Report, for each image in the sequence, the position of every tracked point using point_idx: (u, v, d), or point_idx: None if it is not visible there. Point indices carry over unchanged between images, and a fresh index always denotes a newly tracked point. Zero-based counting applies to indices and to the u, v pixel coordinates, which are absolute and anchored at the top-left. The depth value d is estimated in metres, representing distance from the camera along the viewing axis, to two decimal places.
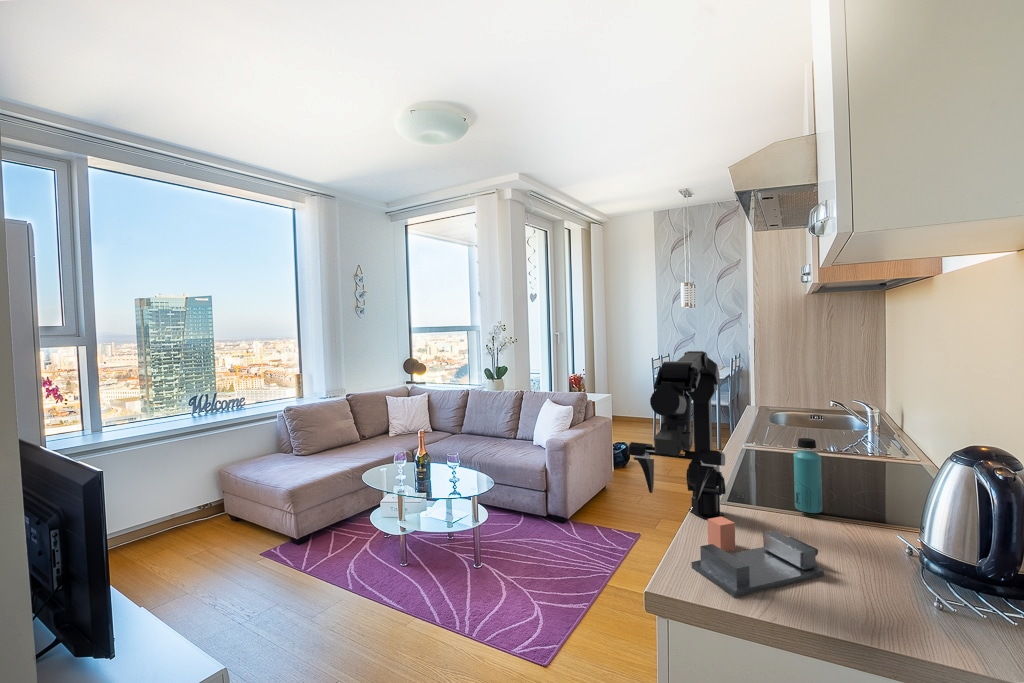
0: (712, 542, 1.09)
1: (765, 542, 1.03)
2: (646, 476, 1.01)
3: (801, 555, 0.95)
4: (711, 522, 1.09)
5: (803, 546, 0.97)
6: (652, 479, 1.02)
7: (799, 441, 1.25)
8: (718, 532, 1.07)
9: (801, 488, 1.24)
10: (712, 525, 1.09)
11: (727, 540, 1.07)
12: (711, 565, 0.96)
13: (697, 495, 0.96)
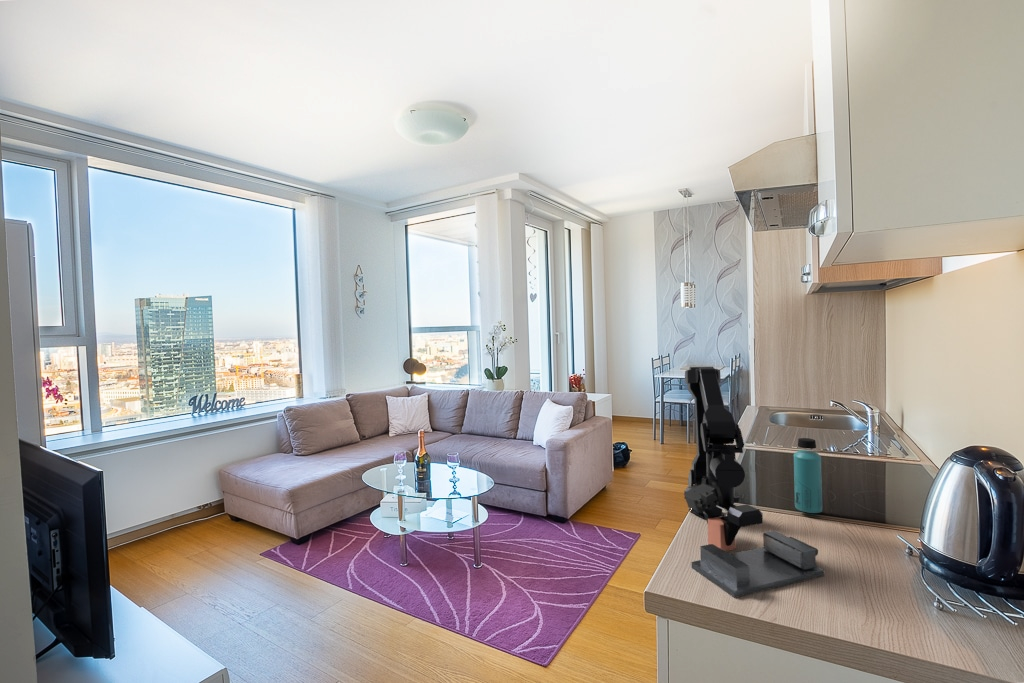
0: (712, 542, 1.09)
1: (765, 542, 1.03)
2: None
3: (801, 555, 0.95)
4: (711, 522, 1.09)
5: (803, 546, 0.97)
6: None
7: (799, 441, 1.25)
8: (718, 531, 1.07)
9: (801, 488, 1.24)
10: (712, 525, 1.09)
11: None
12: (711, 565, 0.96)
13: (726, 542, 1.06)
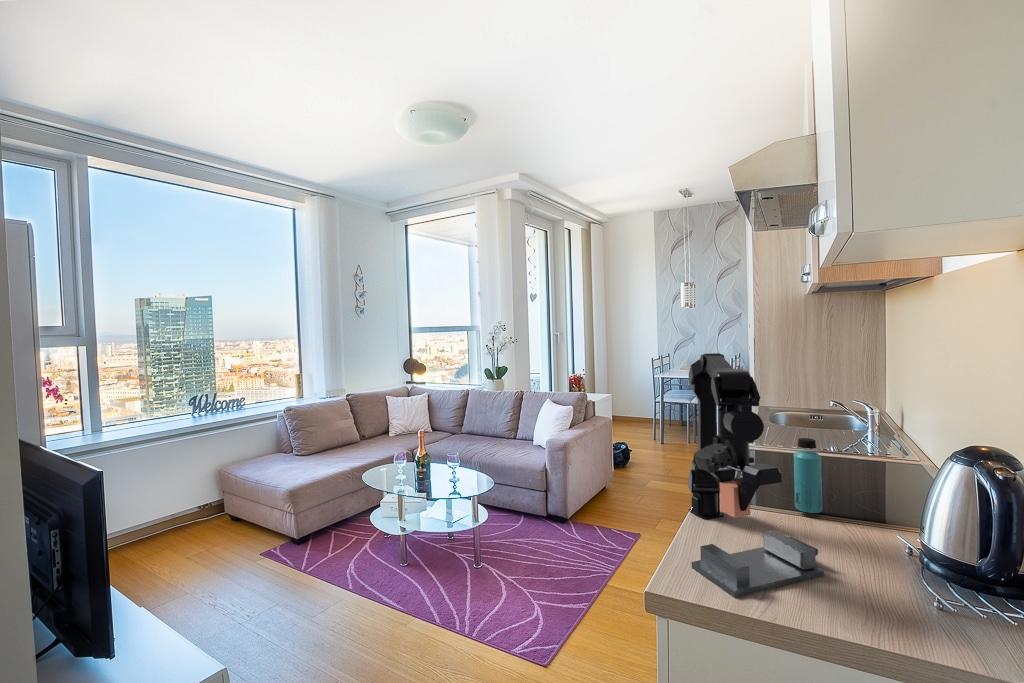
0: (725, 507, 0.99)
1: (765, 542, 1.03)
2: (719, 487, 1.01)
3: (801, 555, 0.95)
4: (723, 485, 0.99)
5: (803, 546, 0.97)
6: None
7: (799, 441, 1.25)
8: (731, 495, 0.97)
9: (801, 488, 1.24)
10: (725, 488, 0.99)
11: None
12: (711, 565, 0.96)
13: (740, 506, 0.96)
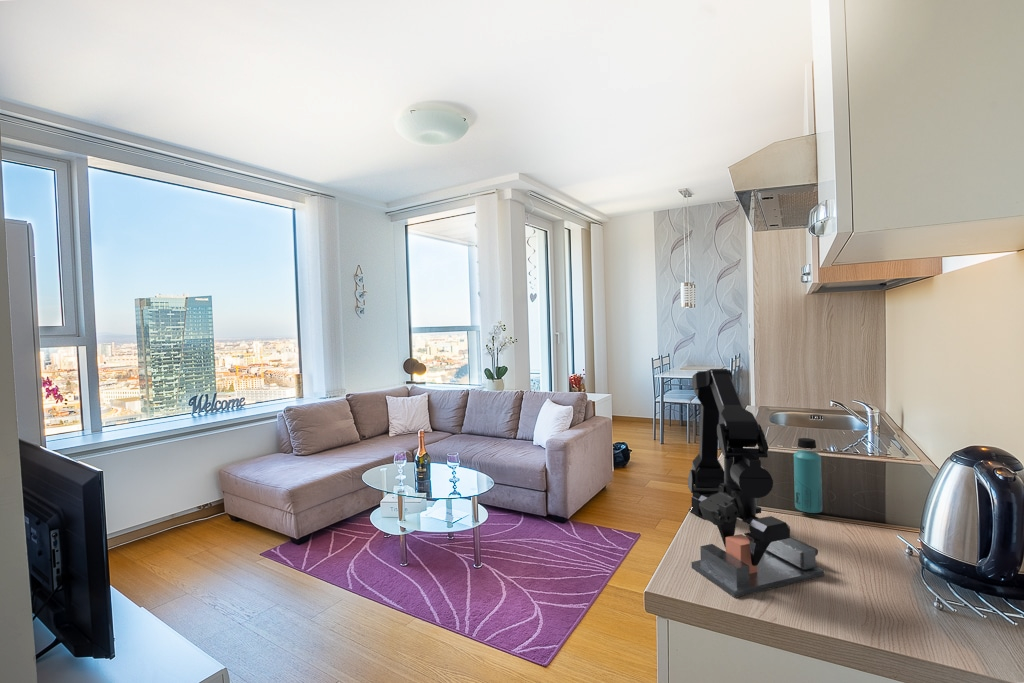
0: None
1: None
2: (721, 533, 1.00)
3: (801, 555, 0.95)
4: (729, 541, 0.96)
5: (803, 546, 0.97)
6: None
7: (799, 441, 1.25)
8: (738, 552, 0.94)
9: (801, 488, 1.24)
10: (731, 544, 0.96)
11: (748, 561, 0.94)
12: (711, 565, 0.96)
13: (752, 561, 0.93)
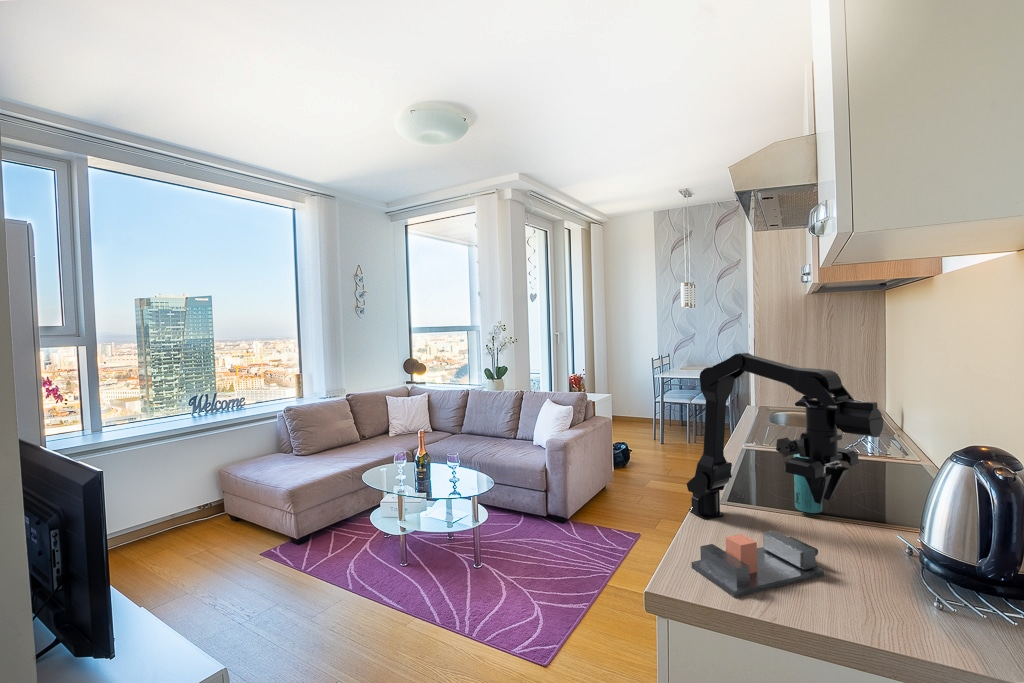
0: None
1: (765, 542, 1.03)
2: None
3: (801, 555, 0.95)
4: (729, 541, 0.96)
5: (803, 546, 0.97)
6: (830, 488, 1.03)
7: None
8: (738, 552, 0.94)
9: (801, 488, 1.24)
10: (731, 544, 0.96)
11: (748, 561, 0.94)
12: (711, 565, 0.96)
13: None
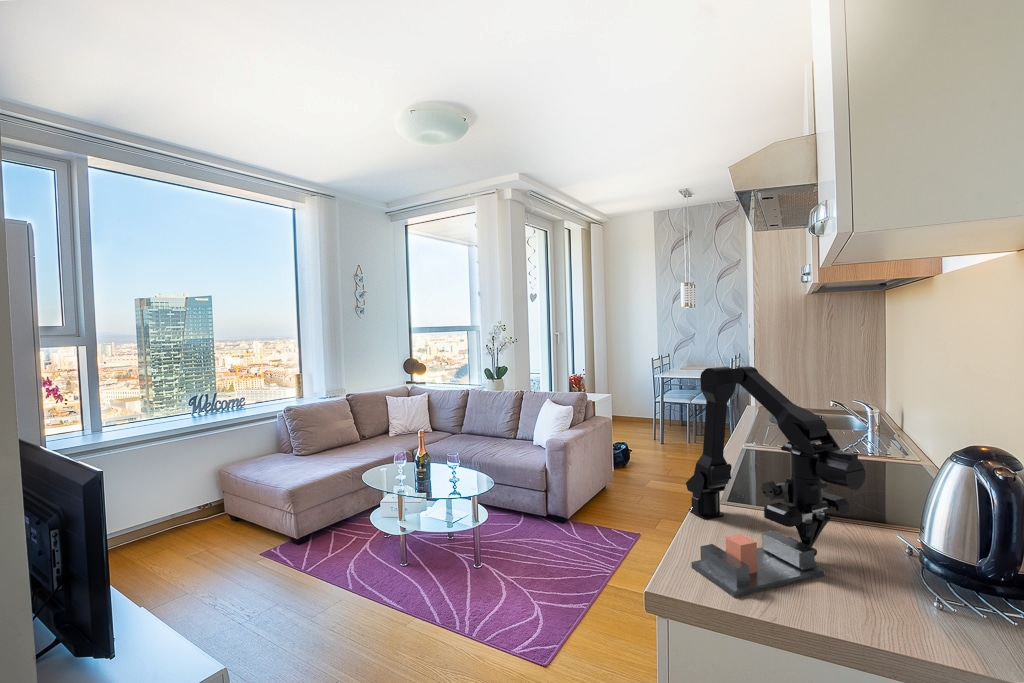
0: None
1: (764, 542, 1.03)
2: None
3: (800, 555, 0.95)
4: (729, 541, 0.96)
5: (802, 546, 0.97)
6: None
7: None
8: (738, 552, 0.94)
9: None
10: (731, 544, 0.96)
11: (748, 561, 0.94)
12: (711, 565, 0.96)
13: None
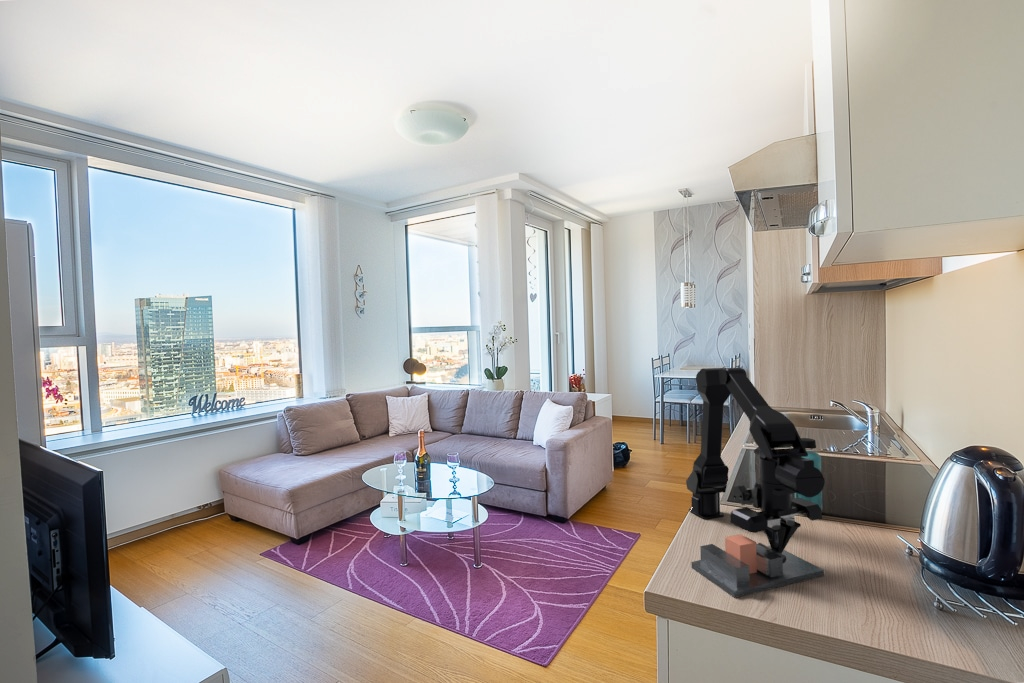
0: None
1: None
2: None
3: (768, 562, 0.93)
4: (729, 541, 0.96)
5: (770, 553, 0.95)
6: None
7: None
8: (737, 552, 0.94)
9: None
10: (730, 545, 0.96)
11: (748, 561, 0.94)
12: (711, 565, 0.96)
13: None
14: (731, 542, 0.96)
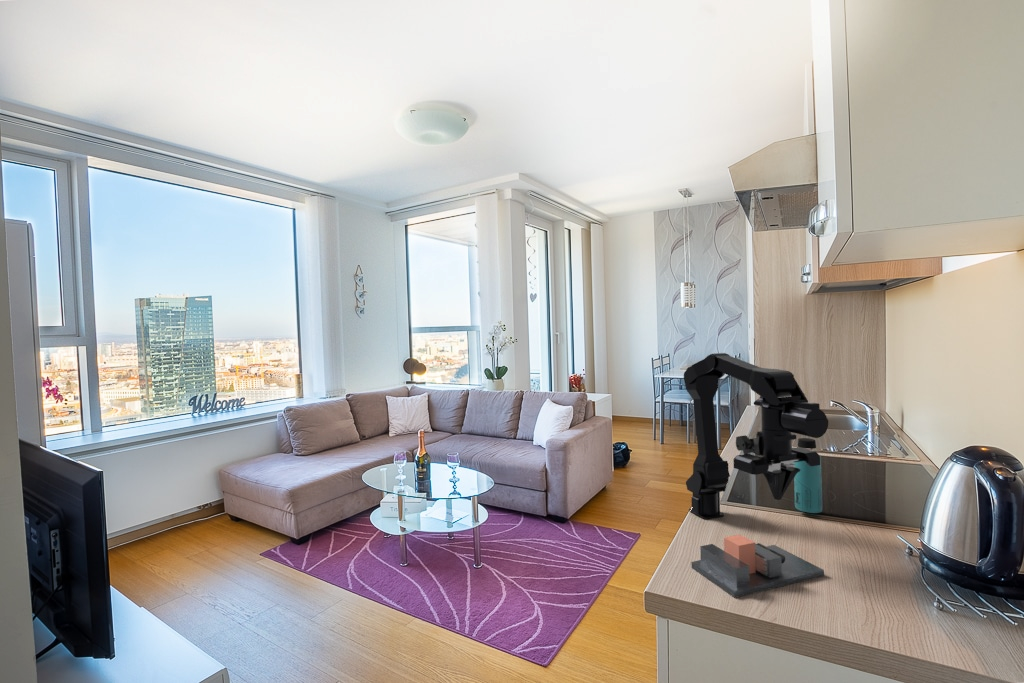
0: None
1: None
2: None
3: (766, 563, 0.92)
4: (728, 541, 0.96)
5: (769, 553, 0.95)
6: None
7: (799, 441, 1.25)
8: (736, 553, 0.94)
9: (801, 488, 1.24)
10: (729, 545, 0.96)
11: (747, 562, 0.94)
12: (711, 565, 0.96)
13: None
14: (730, 542, 0.96)
